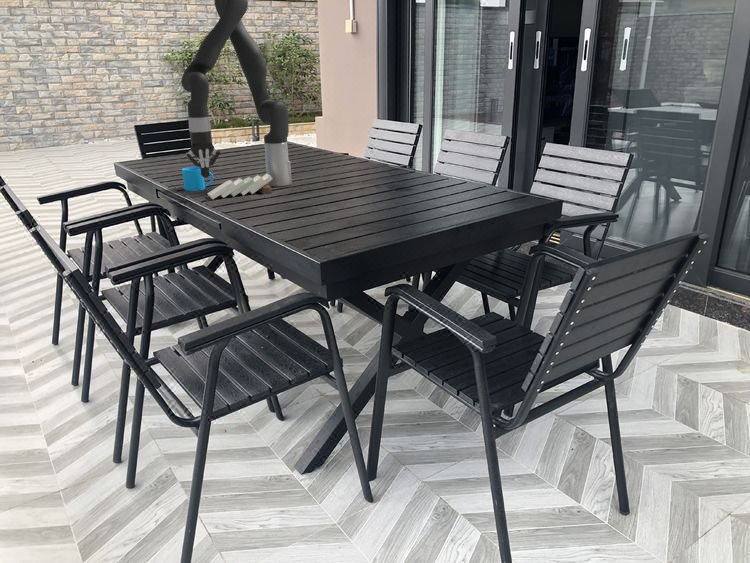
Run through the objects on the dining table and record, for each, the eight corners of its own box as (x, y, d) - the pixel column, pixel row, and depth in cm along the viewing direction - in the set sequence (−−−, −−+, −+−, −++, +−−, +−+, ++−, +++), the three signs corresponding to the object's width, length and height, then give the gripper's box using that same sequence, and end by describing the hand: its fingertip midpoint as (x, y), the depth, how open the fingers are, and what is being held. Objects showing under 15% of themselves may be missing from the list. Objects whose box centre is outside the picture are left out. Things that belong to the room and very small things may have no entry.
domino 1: (209, 196, 234) (231, 183, 237) (212, 199, 230) (235, 185, 233) (207, 193, 233) (229, 179, 236) (210, 195, 229) (233, 181, 232)
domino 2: (219, 195, 236) (241, 181, 238) (223, 198, 232) (245, 183, 234) (217, 192, 235) (239, 178, 237) (221, 194, 231) (243, 180, 233)
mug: (186, 191, 244) (183, 171, 241) (182, 188, 251) (180, 168, 248) (216, 188, 249) (214, 168, 246) (212, 185, 256) (209, 165, 253)
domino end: (248, 191, 241) (268, 176, 243) (252, 194, 237) (272, 178, 239) (246, 188, 240) (266, 173, 242) (250, 190, 236) (270, 175, 238)
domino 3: (229, 194, 238) (250, 179, 240) (233, 196, 233) (254, 182, 236) (227, 191, 237) (248, 176, 239) (231, 193, 233) (252, 178, 235)
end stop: (264, 189, 246) (263, 183, 245) (271, 193, 238) (271, 186, 237) (256, 190, 244) (256, 183, 243) (264, 194, 237) (263, 187, 236)
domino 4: (239, 193, 239) (259, 178, 241) (243, 195, 235) (263, 180, 237) (237, 190, 239) (257, 174, 241) (240, 192, 234) (261, 177, 236)
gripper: (183, 132, 217) (189, 181, 223) (220, 129, 222) (225, 177, 229) (179, 130, 223) (185, 177, 229) (215, 127, 229) (220, 174, 235)
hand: (205, 177), depth 229 cm, fingers closed
